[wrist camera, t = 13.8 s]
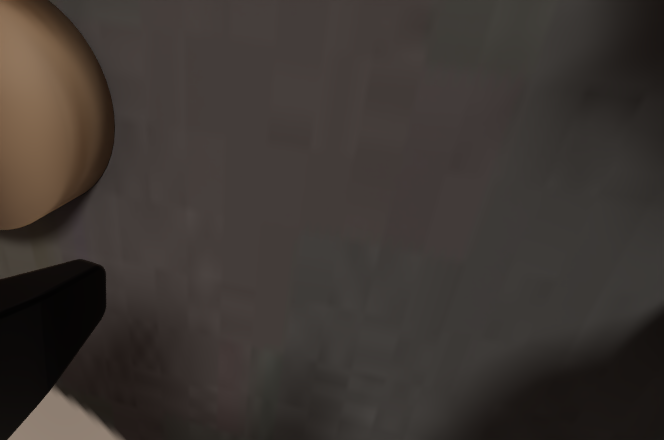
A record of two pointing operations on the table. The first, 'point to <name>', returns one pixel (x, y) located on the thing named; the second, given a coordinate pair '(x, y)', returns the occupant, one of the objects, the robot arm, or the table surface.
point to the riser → (48, 112)
